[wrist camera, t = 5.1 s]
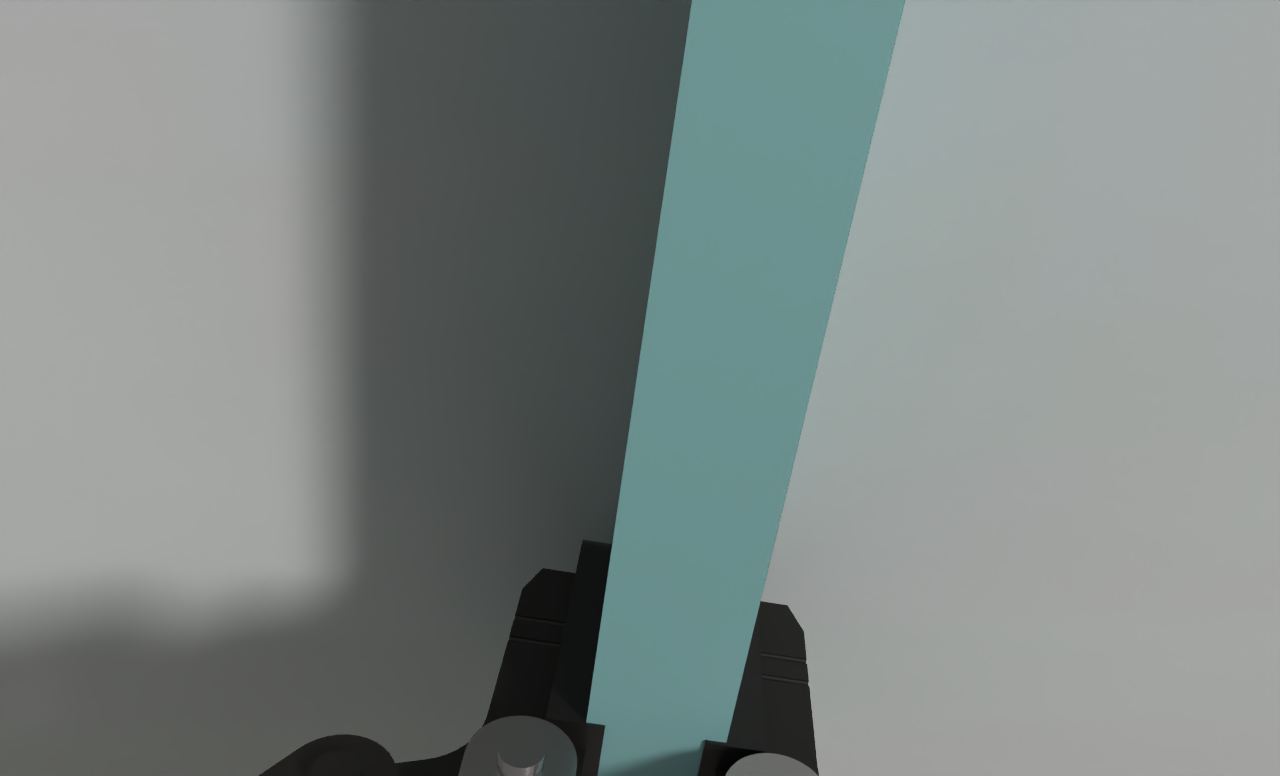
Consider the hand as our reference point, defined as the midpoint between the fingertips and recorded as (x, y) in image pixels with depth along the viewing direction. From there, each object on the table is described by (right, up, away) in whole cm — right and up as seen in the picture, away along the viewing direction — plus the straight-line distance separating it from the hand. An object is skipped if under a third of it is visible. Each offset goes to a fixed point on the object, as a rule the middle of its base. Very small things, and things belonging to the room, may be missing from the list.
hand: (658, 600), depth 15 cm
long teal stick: (+1, +8, -3) cm, 9 cm away
